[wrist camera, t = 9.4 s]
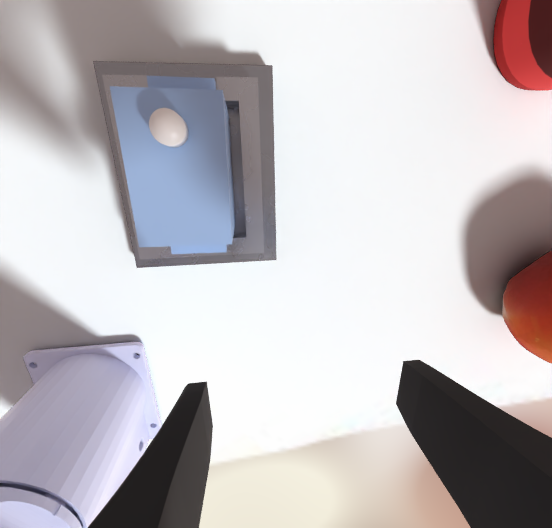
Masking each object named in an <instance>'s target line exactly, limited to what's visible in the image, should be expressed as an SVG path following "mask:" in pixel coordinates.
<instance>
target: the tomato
mask: <svg viewBox="0 0 552 528" xmlns="http://www.w3.org/2000/svg"><path fill="white" fill-rule="evenodd" d="M502 313H503V318H504V321H505V323H506V325H507V327H508V328H509V330H510V332H511V333H512V335H513V336H514V338H515V339H516V340H517V341H518V342H519V344H521V345H522V346H523V347H524V348H525V349H526V350H528V351H530V352H531V353H533V354H534V355H536V356H538V357H539V358H541V359H543V360H545V361H547V362H549V363H552V250H551V251H550V252H548V253H547V254H545V255H543V256H542V257H540V258H539V259H537V260H536V261H535V262H533V263H532V264H531V265H529V266H528V267H526V268H524V269H523V270H522V271H520V272H519V273H518V274H516V275H515V276H514V277H512V278H511V279H510V280H509V282H508V284H507V287H506V289H505V292H504V294H503V310H502Z"/></svg>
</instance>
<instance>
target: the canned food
mask: <svg viewBox="0 0 552 528" xmlns="http://www.w3.org/2000/svg"><path fill="white" fill-rule="evenodd" d="M493 41H494V54H495V58H496V61H497V65H498V67H499V69H500V71H501V73H502V75H503V76H504V77H505V79H506V80H507V81H508V82H509V83H511V84H512V85H514V86H515V87H517V88H521V89H524V90H551V89H552V0H501V3H500V6H499V8H498V12H497V17H496V21H495V26H494V39H493Z"/></svg>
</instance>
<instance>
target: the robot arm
mask: <svg viewBox="0 0 552 528" xmlns="http://www.w3.org/2000/svg"><path fill="white" fill-rule="evenodd" d="M135 353H138V354H140V355H136V354H135ZM23 359H24V362H25V364H26V367H27V369H28V372H29V374H30V376H31V379H32V381H33V383H34V385H33V386H32V387H31V389H30V390H29V391H28V392H27V393H26V394H25V395H24V396H23V397H22V398H21V399H20V400H19V401H18V402H17V403H16V404H15V405H14V406H13V407H12V408H11V409H10V410H9V411H8V412H7V413H6V414H5V415H4V416H3V417H2V418H1V419H0V528H199V523H200V517H201V511H202V505H203V499H204V493H205V487H206V481H207V475H208V470H209V463H210V455H211V442H212V428H213V425H212V417H211V410H210V403H209V396H208V388H207V382H200V383H190V384H188V385H187V386H186V387H185V388H184V390H183V392H182V394H181V396H180V397H179V399H178V401H177V402H176V404H175V406H174V407H173V409H172V411H171V412H170V414H169V416H168V417H167V419H166V420H165V422H164V424H163V425H162V424H161V420H160V415H159V411H158V406H157V402H156V397H155V393H154V389H153V384H152V380H151V375H150V371H149V366H148V362H147V358H146V353H145V349H144V346H143V344H142V343H140V342H126V343H114V344H103V345H91V346H79V347H67V348H56V349H44V350H32V351H29V352H28V353H27V354H25V355H24V357H23ZM35 363H36V364H35ZM396 404H397V406H398V408H399V411H400V413H401V415H402V417H403V419H404V421H405V423H406V425H407V427H408V428H409V430H410V432H411V434H412V436H413V437H414V439H415V440H416V442H417V444H418V445H419V447H420V448H421V450H422V451H423V453H424V455H425V456H426V458H427V459H428V461H429V462H430V464H431V465H432V467H433V469H434V470H435V472H436V473H437V475H438V476H439V478H440V479H441V481H442V482H443V484H444V486H445V487H446V489H447V490H448V492H449V493H450V495H451V496H452V498H453V499H454V501H455V503H456V504H457V505H458V507H459V509H460V510H461V512H462V514H463V515H464V517H465V519H466V520H467V522H468V524H469V525H470V527H471V528H552V438H551V437H549V436H547V435H545V434H543V433H541V432H539V431H538V430H536V429H534V428H532V427H530V426H529V425H527V424H525V423H523V422H522V421H520V420H518V419H516V418H515V417H513V416H511V415H509V414H508V413H506V412H504V411H502V410H501V409H499V408H497V407H496V406H494V405H492V404H491V403H489V402H487V401H486V400H484V399H482V398H481V397H479V396H477V395H476V394H474V393H473V392H471V391H469V390H468V389H466V388H464V387H463V386H461V385H460V384H458V383H456V382H455V381H453V380H452V379H450V378H448V377H447V376H445V375H444V374H442V373H440V372H439V371H437V370H436V369H434V368H432V367H431V366H429V365H427V364H426V363H424V362H422V361H420V360H412V361H403V367H402V373H401V378H400V384H399V390H398V395H397V401H396ZM154 423H155V424H154ZM149 439H153V440H152V442H151V443H150V445H149V446H148V448H147V449H146V447H147V444H148V441H149ZM145 449H146V451H145Z"/></svg>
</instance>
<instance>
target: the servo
mask: <svg viewBox="0 0 552 528" xmlns="http://www.w3.org/2000/svg"><path fill="white" fill-rule="evenodd" d="M147 83H148V87H118V86H110V91H111V97H112V102H113V108H114V113H115V118H116V124H117V129H118V135H119V140H120V146H121V151H122V157H123V162H124V168H125V173H126V178H127V184H128V189H129V195H130V200H131V206H132V211H133V217H134V222H135V228H136V233H137V239H138V244H139V247H166V246H171V253H172V254H192V253H220V252H227V245H228V244H232V241H233V235H234V229H235V212H234V193H233V175H232V157H231V138H230V120H229V114H228V110H227V106H226V102H225V98H224V93H223V90H216V82H215V78H197V77H171V76H147Z"/></svg>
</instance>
